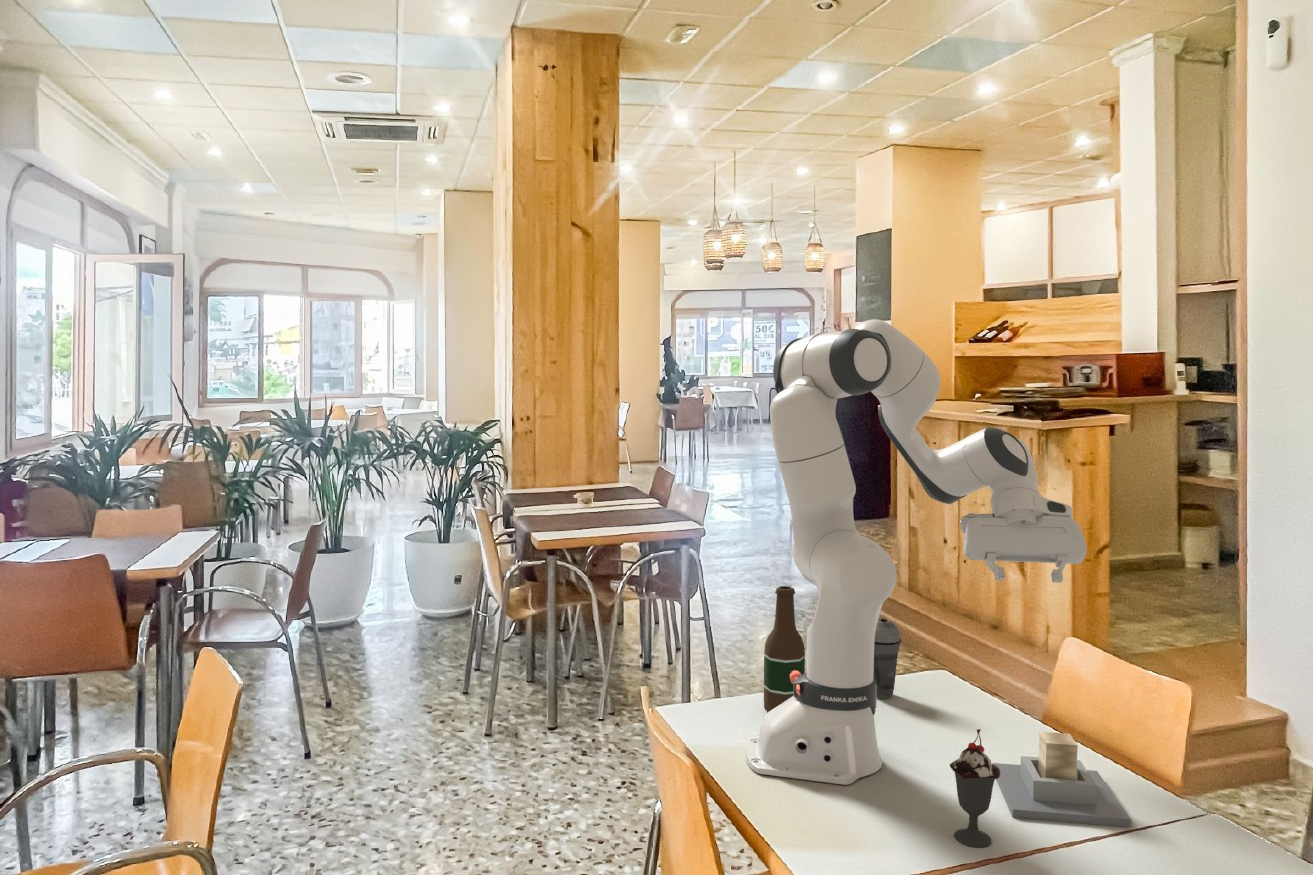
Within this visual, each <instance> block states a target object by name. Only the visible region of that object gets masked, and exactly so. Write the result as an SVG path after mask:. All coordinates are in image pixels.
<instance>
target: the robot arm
mask: <svg viewBox="0 0 1313 875" xmlns="http://www.w3.org/2000/svg"><path fill="white" fill-rule="evenodd" d="M772 370H773V371H772V373H773V381H774V389H775V392H776V395H775V397H773V398H772V400H771V403H770V406H769V416H770V417H769V418H770V420H769V421H770V427H771V428H770V429H771V434H772V442H773V447H774V450H775V454H776V458H777V462H778V467H779V470H780V473H781V478H782V481H783V484H784V488H785V491H786V496H787V498H788V502H789V508H790V514H791V515H790V516H791V525H792V536H793V544H792V557H793V558H792V559H793V561H794V563H795V566H796V567H797V570H798V571H799V572H800V574H801V575H802V576H803V578H805V580H806V581H808V582H809V583H811V585H814V586H816V587H817V591H818V597H817V603H816V609H815V612H814V616H813V620H812V622H810V624H809V626H808V627H807V630H806V645H805V646H806V647H805V648H806V650H805V673H804V674H803V675H801V673H800V672H799V671H796V670H795V671H792V673H790V681H791V683H792V684H794V686H793V691H794V696H792V697H791V698H789V699H788V700H786V701H785V702H783V703H782V704H780V705H779V706H777V707H775V708H774V709H772V710H771V711H769V712H768V711H767V713H766V714H765V716H764V718H763V720H762V723H761V726H760V731H759V734H757V735H755V736H754V737H752V738H751V739H750V740H749V741H748V742H747V745H746V751H745V760H746V763H747V765H748V767H749V768H750V769H751V770H752V771H754V772H755V773H757V774H758V775H759V774H760V775H766V776H767V775H768V776H774V777H782V778H788V779H789V778H791V779H797V780H807V781H813V782H820V783H829V784H836V785H837V784H838V785H851V784H852V783H854V782H856V781H857V780H858V779H860V778H864V777H867V776H870V775H873V774H874V773H876V772H878V770H880V769H882V766H883V761H882V758H881V753H880V749H879V745H878V740H877V732H876V724H875V722H876V721H875V714H876V708H877V700H878V699H877V687H876V681H875V679H874V677H873V672H874V640H875V632H876V626H877V622H878V618H879V615H880V616H881V611H882V607H883V604H884V602H885V601H887V599H888V598H889V597H890V596H891V594H892V593H893V592H894V589H895V586H896V583H897V578H898V577H897V568H896V565H895V563H894V561H893V559H892V558H891V557H890V555H889V554H888V553H887V551H885V549H884V548H883V547H882V546H881V545H880V544H878V543H877V542H876V541H874V540H872V539H870V538H868V537H865V536H863V535H860V533H859V532H858V530H857V528H856V525H855V519H854V497H855V495H856V492H857V490H856V489H857V487H856V482H855V479H854V475H853V470H852V467H851V465H850V460H849V457H848V452H847V450H846V446H845V441H844V438H843V435H842V431H841V429H840V425H839V423H838V420H837V417H836V408H837V402H838V399H843V398H849V397H851V396H862V395H864V394H868V393H872V394H873V396H875V397H876V398H877V400H878V401H879V403H880V405H879V407H878V410H877V411H878V412H877V414H878V419H879V422H880V425H881V426H882V428H883V430H884V432H885V433H886V435H887V437H888V438H889V440H890V441H891V442H892V444H893V445H894V447H895V448H896V449H897V451H898V452H899V454H901V456H902V457H903V459H904V460H905V462H906V463H907V464H908V465H909V466H908V467H910V468H911V470H912V471H913V472H914V474H915V476H916V477H917V479H918V481H919V482H920V485H921V487H922V488H923V491H924V492H925V493H926V494H927V495H928V496H929V498H931V499H933V500H934V501H937V502H939V503H943V504H946V505H953V504H954V503H956V502H957V501H958V502H959V500H961V499H963V498H964V497H966V496H968V495H969V494H972V493H974V492H977V491H978V490H981V489H983V488H985V487H988V490H989V491H990V493H991V498H990V507H991V509H990V510H991V513H975V512H969V513H967V514H966V515H963V516H962V517H961V518H960V519H959V526H960V530H961V532H962V533H963V535H964V536H963V556H965V557H966V559H967V560H970V561H985V565H986V566H987V567H988V569H989V570H990V571H991V572H992V573H993V578H994V581H1005V579H1006V573H1005V567H1003V566H1002V567H1000V566H999V565H998V564H997V562H1011V563H1012V562H1013V563H1014V562H1015V563H1017V562H1018V563H1040V564H1041V563H1046V564H1055V567H1056V568H1057V569H1055V568H1054V569H1052V570H1051V571H1052V572H1051V573H1050V578H1051V582H1052V583H1054V584H1057V583H1058V584H1062V583H1063V581H1064V574H1063V572H1064V569H1065V567H1066V565H1069V564H1070V565H1071V564H1072V565H1073V564H1074V565H1079V564H1081V563H1082V562H1083V561H1084V559H1085V557H1086V555H1087V551H1088V550H1087V548H1088V547H1087V543H1086V539H1085V537H1084V533H1083V531H1082V528H1081V526H1080V524H1079V523H1078V521H1076V520H1075V518H1073V507H1072V506H1071V505H1069V504H1068V503H1062V502H1059V501H1055V500H1052V499H1049V498H1045V497H1042V495H1041V493H1040V492H1039V490H1038V487H1039V477H1038V472H1037V469H1036V465H1035V461H1034V459H1033V456H1032V454H1031V451H1030V449H1029V447H1028V445H1027V444H1026V443H1025V442H1024V441H1023V440H1022V439H1020V438H1018V437H1016V436H1014V435H1013V433H1012V434H1011V433H1010V432H1008V431H1007V430H1006V431H1005V430H1004V429H1001V428H998V427H997V428H996V427H994V426H993V427H991V426H988V427H986V428H983V429H980V430H979V431H977V432H974V433H973V434H970V435H968V436H965V438H963V439H960V440H959V441H957V442H955V443H952V444H950V445H949V446H946V447H945V448H941V449H940V448H939V449H931V448H930V446H929V445H928V443H927V442H926V441H925V439H924V438H923V437H922V435H921V434H920V432H919V431H918V430H917V428H916V426H917V425H918V423H919V422H920V421H921V420H922V418H924V416H926V415H927V414H928V412H930V411H931V409H932V407H933V406H934V404H935V402H936V400H937V398H938V396H939V393H940V389H941V376H940V371H939V369H938V368H937V366H936V364H935V363H934V361H933V360H932V359H931V358H930V357H929V356H928V354H926V353H925V352H924V351H923V349H922V348H920V347H919V346H918V344H916V343H915V342H914V341H912V339H910V338H909V337H908V336H907V335H905V334H904V333H903V332H901V331H900V330H899V329H897V328H896V327H895V326H893V325H891V324H890V323H889V322H886V321H884V320H882V319H879V318H877V319H876V318H875V319H873V318H872V319H868V320H864V321H862V322H860V323H859V324H857V325H856V326H854V327H853V328H849V329H848V328H847V329H846V330H836V331H835V330H834V331H821V332H817V333H814V334H810V335H807V336H805V337H800V338H799V337H798V338H795V339H793V340H791V341H789V342H788V343H786V344H784V345H783V346H782V347H781V348H780V349H779V350H778V351H777V353H776V354H775V358H774V361H773V369H772Z"/></svg>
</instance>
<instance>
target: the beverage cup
mask: <svg viewBox="0 0 1313 875" xmlns="http://www.w3.org/2000/svg"><path fill="white" fill-rule="evenodd" d="M901 643H902V639H901V633H900V631H899V629H898V627H897V625H896V624H895V623H894V622H893V621H891V620H888V619H887V618H881V614H880V615H879V618H878V622H877V626H876V632H875V640H874V672H873V677H874V679H875V681H876V687H877V700H889V699H892V698H894V690H895V684H896V676H897V675H896V674H897V664H898V663H897V662H898V654H899V651H900V646H901Z"/></svg>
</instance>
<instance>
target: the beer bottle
mask: <svg viewBox="0 0 1313 875" xmlns="http://www.w3.org/2000/svg"><path fill="white" fill-rule="evenodd" d="M774 593H775V595H776V603H775V617H774V625H773V629H772V630H771V632H770V633H769V634H768V636H767V638H766V640H765V644H764V651H763V708H764V710H765V709H766V710H767V711H766V710H765V711H766V712H767V713H768V712H769V711H771V710H772V709H774V708H775V707H777V706H779V705H780V704H782V703H783V702H785V701H786V700H788V699H789V698H791V697H792V696H794V691H793V686H794V684H792V683H791V681H790V673H792V671H795V670H796V671H799V672H800V673H801V675H803V674H804V673H806V650H805V648H806V647H805V643H804V640H803V638H802V636H801V635H800V633H799V631H798V630H797V626H796V618H795V615H796V614H795V601H794V600H795V597H794V595H795V594H796V590H795V588H793V587H792V586H789V585H781V586H778V587H776V589H775V592H774Z"/></svg>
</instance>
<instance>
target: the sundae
mask: <svg viewBox="0 0 1313 875" xmlns="http://www.w3.org/2000/svg"><path fill="white" fill-rule="evenodd" d="M980 732H981V729H979V728H977V729H976V733H977V734H976V735H977V736H976V738H975V739H974V741H973V742H969V743H968V745H967V748H965V749H964V750H962V751H961V753H960V755H959V758H958V759H955V760H953V761H952V762H951V763H950V764H949V767H950V769H951V770H952V771H953V772H954V777H955V784H956V792H957V793H956V795H957V800H958V804H959V806H960V808H962V810H963V811H964V812H966V814H968V825H967V828H960V829H957V830H956V831H955V832H954V836H953V837H954V838H955V839H956V841H958V842H959V843H961V844H962V845H964V846H968V847H971V848H986V847H989V846H990V845H991V844H993V843H992V842H993V841H992V838H991V836H990V835H988V834H987V833H986V832H984V831H982V830H979V823H978V822H979V817H980V816H981V815H983V814H984V813H985V812H987V811H988V810H989V808H990V804H991V801H992V794H993V788H994V784H995V780H996V779H998V778H999V777H1000V769H999V768H998V767H997V766H996V765H993V764H992V760H991V759H990V757H989V756H988V755H987V754H985V747H984V746H982V738H981V734H980ZM978 738H979V744H978V745H977V744H976V742H977V740H978Z"/></svg>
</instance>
